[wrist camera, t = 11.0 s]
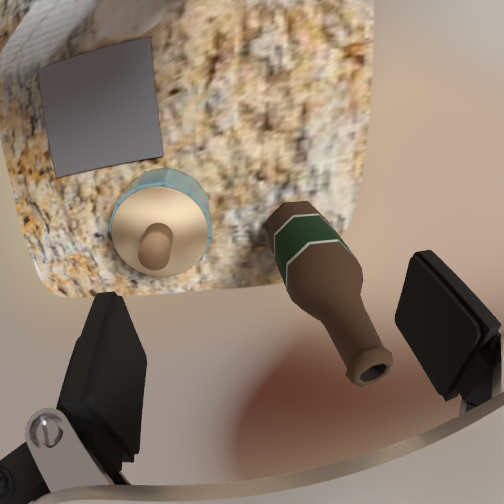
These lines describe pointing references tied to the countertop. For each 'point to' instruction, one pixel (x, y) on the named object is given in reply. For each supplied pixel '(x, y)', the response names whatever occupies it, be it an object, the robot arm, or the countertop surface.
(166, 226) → the lid
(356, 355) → the beer bottle
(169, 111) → the countertop surface
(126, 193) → the bowl
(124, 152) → the mat
